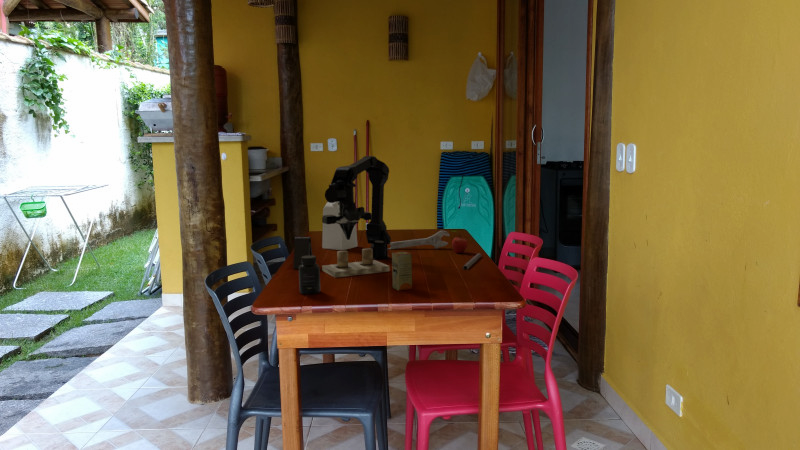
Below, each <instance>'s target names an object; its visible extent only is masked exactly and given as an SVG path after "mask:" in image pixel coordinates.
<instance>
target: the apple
mask: <svg viewBox="0 0 800 450" xmlns="http://www.w3.org/2000/svg"><path fill="white" fill-rule="evenodd" d="M450 232H451V233H454V232H455V233H457V234H458V236H455V237H453V240H452V241H451V245H452V248H453V251H454V253H455V254H461V253H462V254H463V253H465V251H466V250H467V247H468V240H466V239H465V238H463V237H461V236H462V234H461V233H459V232H458V231H457V230H454V229H453V230H451V231H450Z"/></svg>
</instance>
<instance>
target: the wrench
mask: <svg viewBox="0 0 800 450" xmlns="http://www.w3.org/2000/svg"><path fill="white" fill-rule="evenodd" d="M444 236H446V237H450V232H448V231H446V230H439V231H437V232H436V233H434V234H433V235H430V236H429V237H426V238H425V237H424V238H417V239H416V238H415V239H408V240H401V241H399V240H398V241H392V242H390V244H389V245H390V247H389V248H388V247H387V250H396V249H403V248H410V247H417V246H425V245H430V246H433V247H434V249H438V250H439V248H442V247H445V246H447V245H448V244H449V242H447V241H443V240H442V238H443V237H444Z"/></svg>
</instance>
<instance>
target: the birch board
mask: <svg viewBox="0 0 800 450" xmlns="http://www.w3.org/2000/svg"><path fill="white" fill-rule="evenodd" d="M337 266H338V263H334V264H326V265H321V267H322V268H321V270H322V272H324V273H325V274H328V275H330V276H331V277H332V278H333V277H334V278H344V277H345V278H346V277H352V276H361V275H370V274H377V273H386V272H390V265H387V264H386V263H383V262H380V261H378V260H377V259H373V266H362V260H361V261H354V262H352V261H351V262H348V268H346V269H338V267H337Z"/></svg>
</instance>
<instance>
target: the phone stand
mask: <svg viewBox="0 0 800 450" xmlns="http://www.w3.org/2000/svg"><path fill="white" fill-rule="evenodd" d="M293 241H294V242H293V243H294V247H293V248H294V251H293V264H292V265H293V267H292V268H293V270H299V266H300V265H302V263H301V257H303V256H314V255H313V248H312V238H311V236H295V237H294V240H293Z"/></svg>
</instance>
